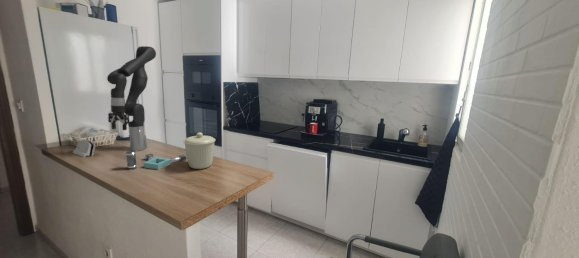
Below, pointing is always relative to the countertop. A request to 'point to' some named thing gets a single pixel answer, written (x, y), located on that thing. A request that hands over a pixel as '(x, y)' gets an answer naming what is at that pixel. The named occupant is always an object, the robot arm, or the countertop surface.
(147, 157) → the shaft
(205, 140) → the canister
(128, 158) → the coupler
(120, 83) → the robot arm
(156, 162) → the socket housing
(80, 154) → the hinge
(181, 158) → the shaft
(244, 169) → the countertop surface
